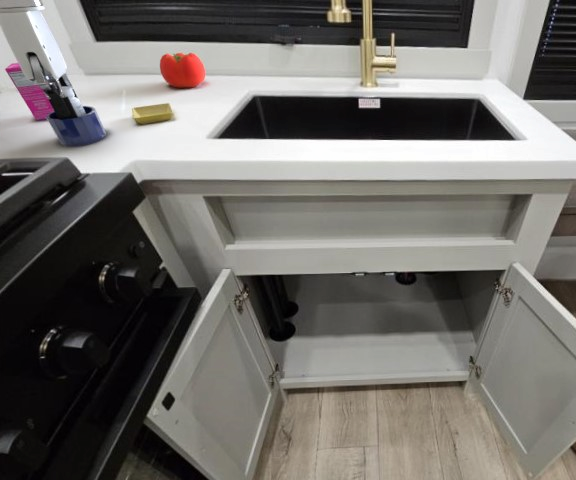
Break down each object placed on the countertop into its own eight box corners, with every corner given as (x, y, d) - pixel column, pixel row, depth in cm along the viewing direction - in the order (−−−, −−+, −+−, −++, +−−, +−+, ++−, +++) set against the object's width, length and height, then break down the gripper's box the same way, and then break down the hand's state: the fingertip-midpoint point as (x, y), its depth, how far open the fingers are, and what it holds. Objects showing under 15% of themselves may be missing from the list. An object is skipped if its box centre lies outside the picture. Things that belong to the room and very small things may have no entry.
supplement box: (41, 115, 81) (11, 62, 74) (67, 112, 83) (41, 60, 75) (35, 122, 77) (3, 67, 70) (63, 119, 79) (35, 65, 71)
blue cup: (57, 150, 65) (41, 122, 61) (65, 135, 71) (51, 109, 67) (104, 144, 67) (91, 116, 63) (108, 130, 73) (97, 103, 69)
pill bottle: (65, 138, 66) (40, 93, 60) (73, 130, 69) (50, 86, 64) (90, 136, 67) (68, 91, 61) (97, 128, 70) (76, 84, 64)
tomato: (214, 81, 103) (208, 49, 97) (197, 92, 94) (189, 58, 88) (178, 80, 105) (169, 49, 99) (157, 91, 96) (146, 57, 90)
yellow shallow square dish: (135, 116, 80) (131, 107, 78) (171, 111, 82) (169, 102, 81) (136, 128, 74) (132, 118, 72) (175, 122, 76) (173, 112, 75)
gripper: (4, -3, 58) (60, 105, 71) (-36, 4, 46) (40, 132, 59) (51, -5, 60) (98, 101, 72) (24, 2, 48) (86, 127, 61)
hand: (71, 114), depth 65 cm, fingers closed on pill bottle, 4 cm apart
